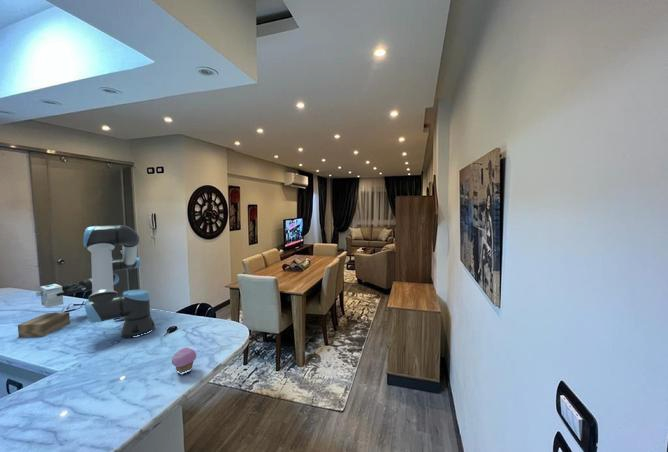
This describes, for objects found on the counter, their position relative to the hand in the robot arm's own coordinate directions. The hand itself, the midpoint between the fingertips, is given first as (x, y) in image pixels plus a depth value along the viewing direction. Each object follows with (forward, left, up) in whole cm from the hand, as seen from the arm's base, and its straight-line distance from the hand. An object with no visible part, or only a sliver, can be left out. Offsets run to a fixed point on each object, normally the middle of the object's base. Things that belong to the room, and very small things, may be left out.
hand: (42, 295), depth 148 cm
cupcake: (-109, +3, -20) cm, 110 cm away
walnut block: (-1, 0, -20) cm, 20 cm away
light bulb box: (0, -4, -7) cm, 8 cm away
